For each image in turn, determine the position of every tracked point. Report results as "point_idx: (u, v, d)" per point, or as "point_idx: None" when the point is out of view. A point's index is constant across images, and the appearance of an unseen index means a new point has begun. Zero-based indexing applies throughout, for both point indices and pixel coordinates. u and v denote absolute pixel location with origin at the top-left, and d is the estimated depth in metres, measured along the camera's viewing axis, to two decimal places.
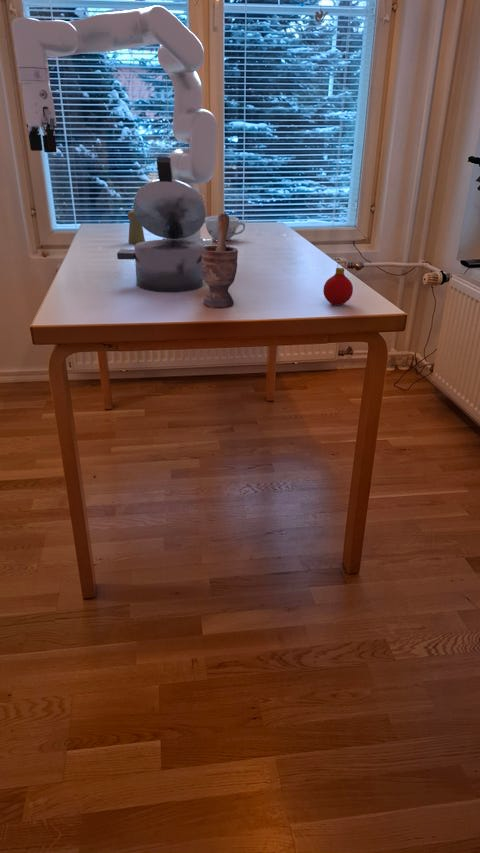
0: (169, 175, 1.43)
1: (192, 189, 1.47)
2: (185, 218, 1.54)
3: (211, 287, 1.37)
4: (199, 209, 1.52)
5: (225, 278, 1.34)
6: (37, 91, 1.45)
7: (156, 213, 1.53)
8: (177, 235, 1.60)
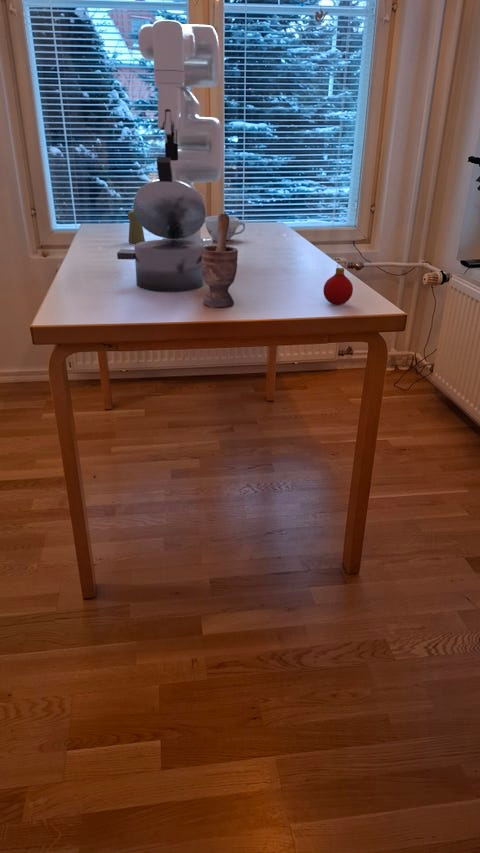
0: (169, 175, 1.43)
1: (192, 189, 1.47)
2: (185, 218, 1.54)
3: (211, 287, 1.37)
4: (199, 209, 1.52)
5: (225, 278, 1.34)
6: None
7: (156, 213, 1.53)
8: (177, 235, 1.60)
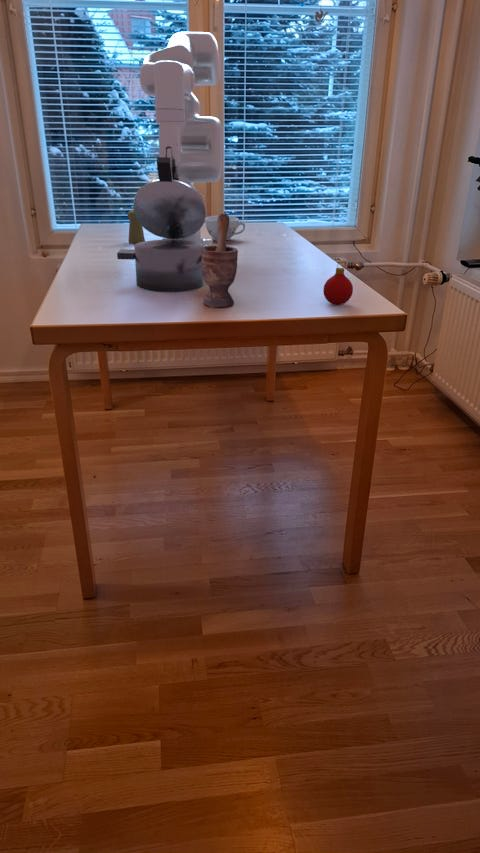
0: (169, 175, 1.43)
1: (192, 189, 1.47)
2: (185, 218, 1.54)
3: (211, 287, 1.37)
4: (199, 209, 1.52)
5: (225, 278, 1.34)
6: None
7: (156, 213, 1.53)
8: (177, 235, 1.60)
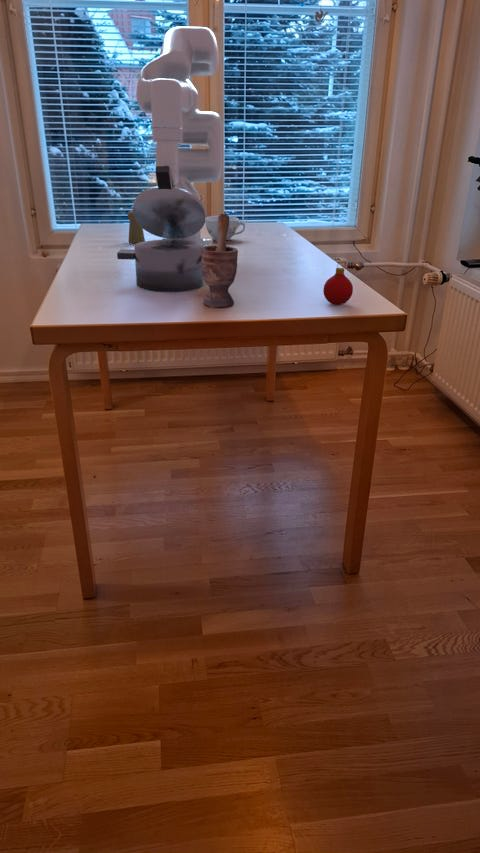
0: (168, 183, 1.42)
1: (191, 195, 1.46)
2: (185, 221, 1.54)
3: (211, 287, 1.37)
4: (199, 213, 1.51)
5: (225, 278, 1.34)
6: None
7: (156, 216, 1.53)
8: (177, 236, 1.60)
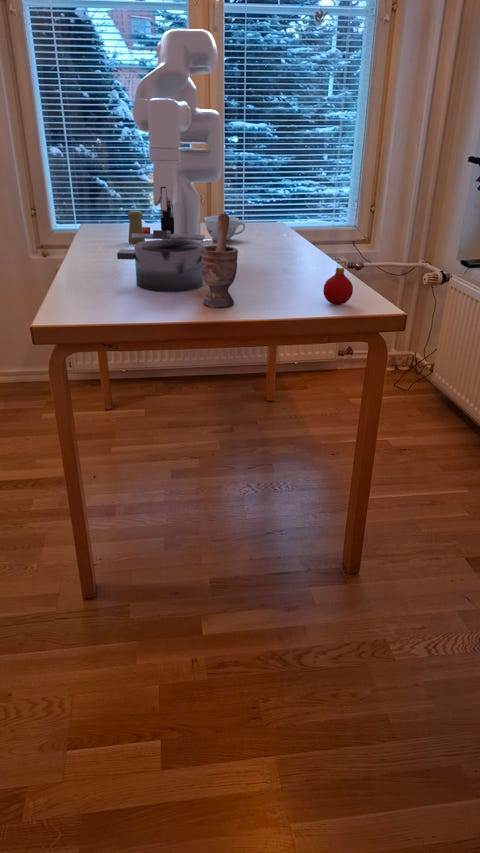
0: None
1: (190, 237, 1.45)
2: None
3: (211, 287, 1.37)
4: None
5: (225, 278, 1.34)
6: None
7: None
8: None
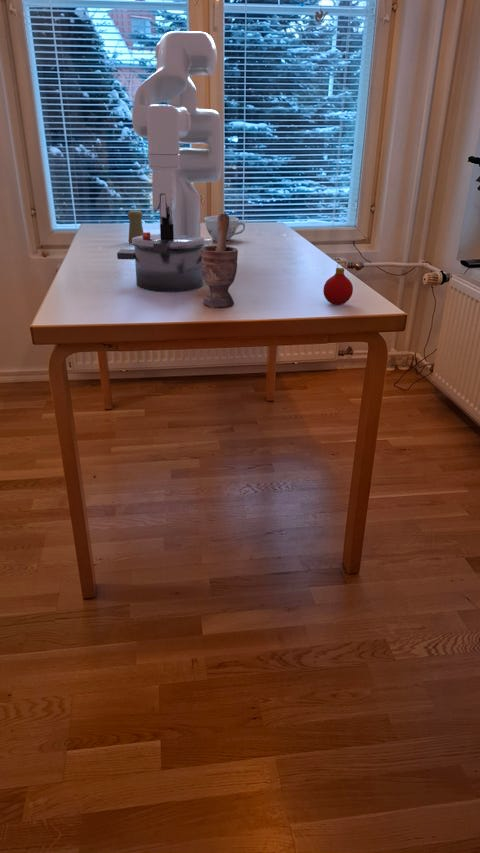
0: None
1: (190, 245, 1.46)
2: None
3: (211, 287, 1.37)
4: None
5: (225, 278, 1.34)
6: None
7: None
8: None
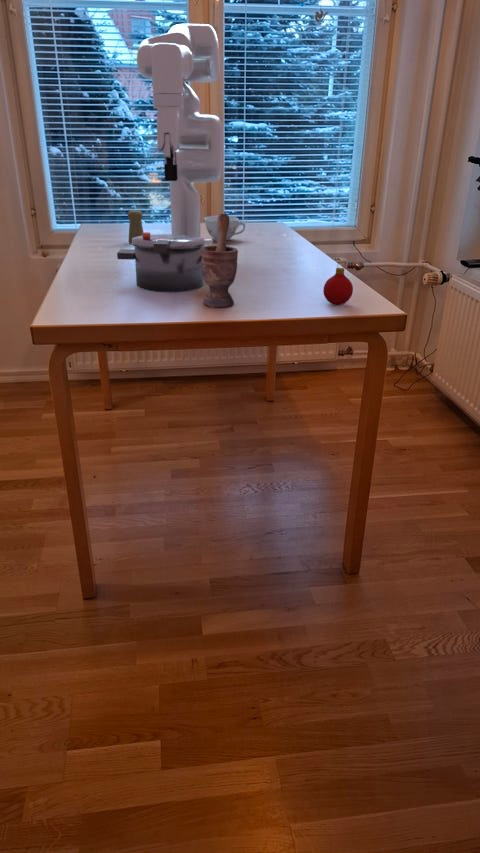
0: None
1: (190, 245, 1.46)
2: None
3: (211, 287, 1.37)
4: None
5: (225, 278, 1.34)
6: None
7: None
8: None
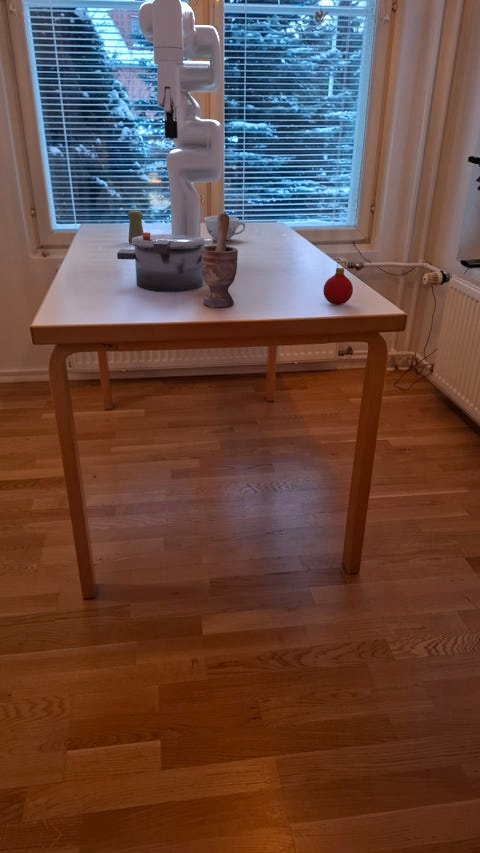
0: None
1: (190, 245, 1.46)
2: None
3: (211, 287, 1.37)
4: None
5: (225, 278, 1.34)
6: None
7: None
8: None
